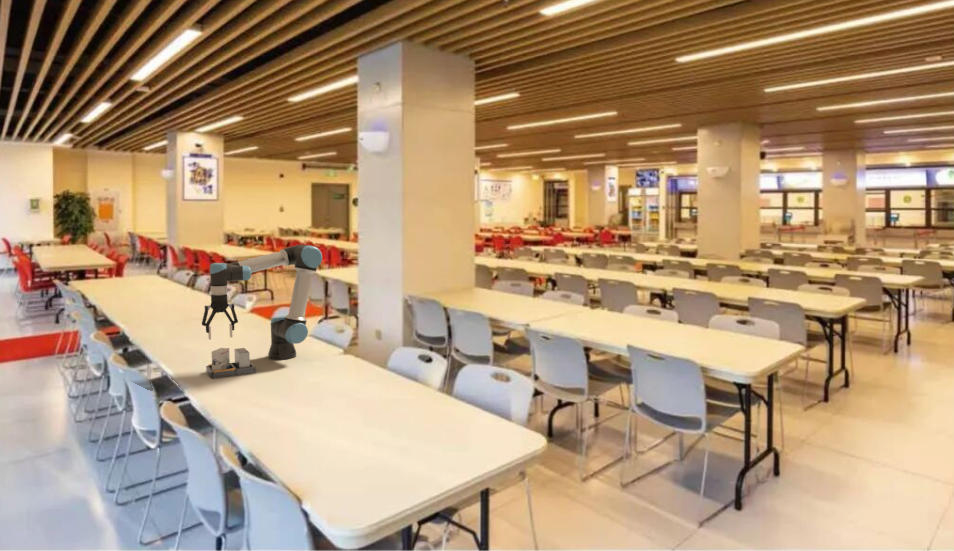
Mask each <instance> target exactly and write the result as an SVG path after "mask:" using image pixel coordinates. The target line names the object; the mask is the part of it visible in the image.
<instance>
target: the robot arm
mask: <svg viewBox="0 0 954 551" xmlns="http://www.w3.org/2000/svg"><path fill="white" fill-rule="evenodd" d="M322 261H323V254H322V251H321V250H320V249H319V248H318V247H316V246H313V245H307V244H297V245H292V246H288V247H285V248H282V249H280V250H279V251H277V252H273V253H269V254H265V255H261V256H256V257H252V258H249V259H248V258H247V259H243V260H240V261H235V262H230V263H225V262H214V263H211V264H210V265H209V266H210V267H209V276H210V277H209V278H210V294H211V295H210V304H209V305H207V304H206V305H204V313H203V317H202V320H201V326H203V327H204V326H205V333H207V335H208V340H212V332H211V331H212V329H211V328H212V327H211V325H210V324H211V323H212V321H213V319H214V318H215V315H216V314H219V313H224V314H225V316H226V318H227V319H228V321H229V322H230V323H229V338H233V331H235V324H237V323H239V321H238V317H237V314H236V311H235V310H236V309H235V304H234V303H229V301H228V283H229V282H239V281H240V282H242V281H243V282H244V281H249V280H250V279H251V277H252V273H253V274H254V273H256V272H260V271H264V270H267V269H272V268H275V267H279V266H285V267H287V266H294V270H295V271H296V274H295V279H294V284H293V290H292V295H291V299H290V300H291V301H290V304H289V310H288V314H287V315H284V316H283V315H282V316H274V317H272V318H271V320H270V339H271V340H270V342H271V343H270V348H269V350H268V359H270V360H280V361H281V360H290V359H293V358H296V357H297V351H296V348H295V344H301V343H302V342H304V341H305V340H306V338H307V337H308V334H309V329H308V327H307V319H306V317H305V314H306V310H307V305H308V300H309V295H310V288H311V285H312V279H313V274H315V273H316V272H317V268H318V267H319V266H321V263H322ZM228 308H229V309H230V311H231V314H232V317H233V318H232V317H231V315H230V314H229V312H228V311H227V310H228ZM210 309H211V311H212V312H211V313H210V315H209V317H208V314H209V310H210ZM207 318H208V319H207Z"/></svg>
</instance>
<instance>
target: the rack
mask: <svg viewBox="0 0 954 551" xmlns="http://www.w3.org/2000/svg"><path fill="white" fill-rule="evenodd" d="M233 352H234V361H233V362H230V369H224V370H216V371H212V363H211V364H210V363H209V364H208V365H206V373H207V375H208V376H209V378H210V380H214V379H221V378H223V379H224V378H228V377H230V378H231V377H236V376H244V375H252V374H256V373H257V371H256V370H257V368H256V365H254V364H253V363H252V362H251V361H250V351H249V350H247V349H246V348H245V347H241V348H234V351H233Z"/></svg>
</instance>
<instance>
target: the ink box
mask: <svg viewBox="0 0 954 551" xmlns="http://www.w3.org/2000/svg"><path fill="white" fill-rule="evenodd" d="M230 360H231V359H230V348H229V347H228V348H227V347H220V348H217V349H215V350H213V351H211V364H212V371H216V370H224V369H230V363H231V361H230Z"/></svg>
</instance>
